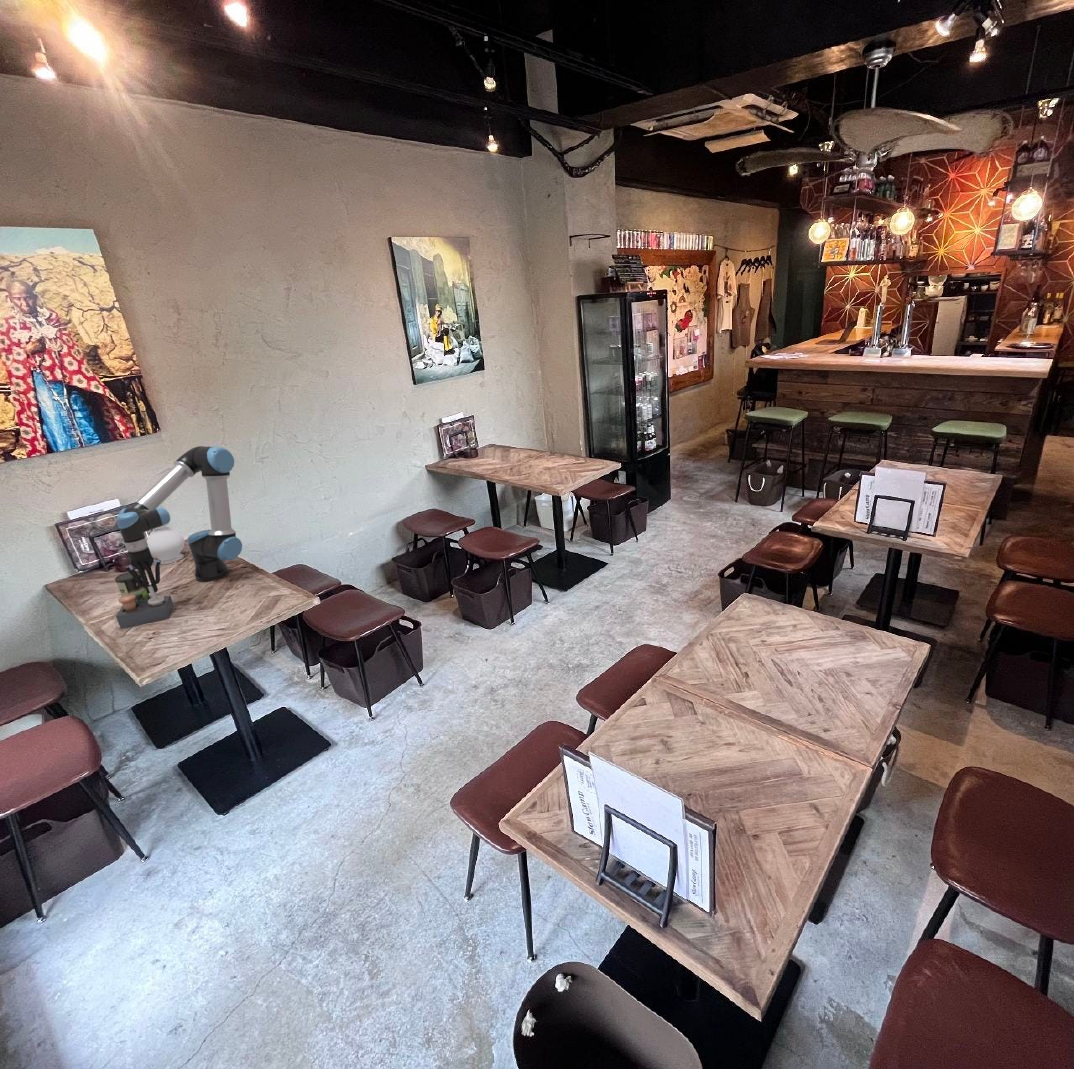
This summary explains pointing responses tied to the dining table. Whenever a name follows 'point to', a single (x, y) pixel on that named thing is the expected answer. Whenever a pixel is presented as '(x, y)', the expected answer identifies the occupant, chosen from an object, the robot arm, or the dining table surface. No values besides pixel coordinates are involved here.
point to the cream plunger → (156, 601)
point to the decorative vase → (166, 544)
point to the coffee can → (131, 586)
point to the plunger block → (145, 613)
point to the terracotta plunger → (128, 602)
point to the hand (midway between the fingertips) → (155, 598)
